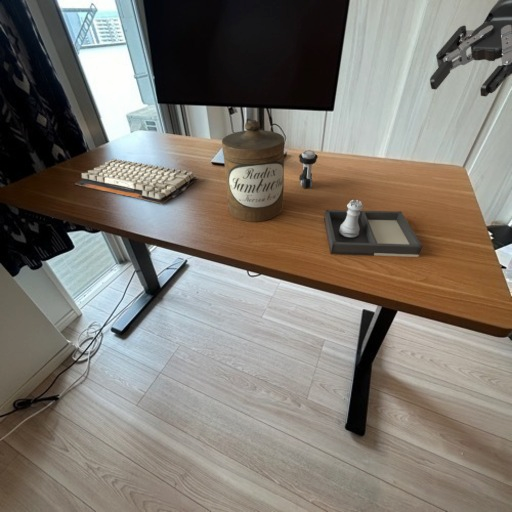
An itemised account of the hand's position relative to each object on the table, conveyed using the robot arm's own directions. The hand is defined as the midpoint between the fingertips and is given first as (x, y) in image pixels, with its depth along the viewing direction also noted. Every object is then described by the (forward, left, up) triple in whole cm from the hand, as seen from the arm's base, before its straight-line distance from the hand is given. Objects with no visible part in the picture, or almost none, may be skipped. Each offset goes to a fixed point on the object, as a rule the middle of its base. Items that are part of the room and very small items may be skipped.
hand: (456, 89), depth 45 cm
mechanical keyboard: (+76, -24, -29) cm, 85 cm away
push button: (+22, -24, -29) cm, 43 cm away
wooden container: (+36, -9, -29) cm, 47 cm away
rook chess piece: (+13, +3, -28) cm, 31 cm away
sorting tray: (+9, +3, -29) cm, 30 cm away
